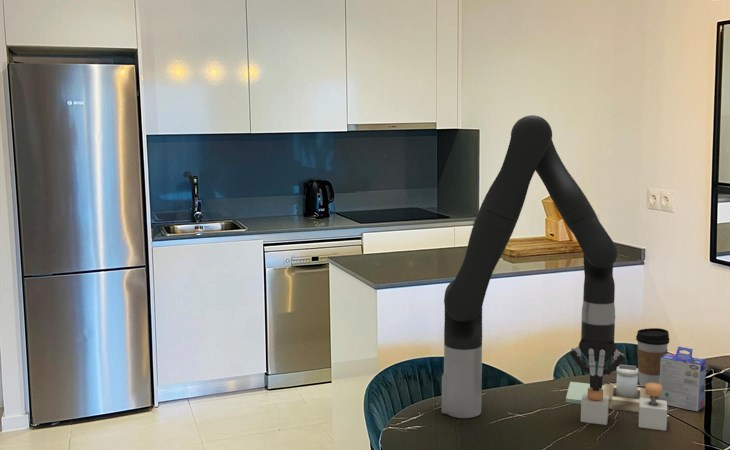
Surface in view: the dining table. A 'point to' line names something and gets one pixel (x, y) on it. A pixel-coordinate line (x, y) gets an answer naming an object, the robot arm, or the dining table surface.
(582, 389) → the mat
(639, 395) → the collar
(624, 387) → the canister
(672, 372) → the ink cartridge box
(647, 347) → the coffee cup
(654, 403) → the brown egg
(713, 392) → the dining table surface
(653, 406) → the plunger posts
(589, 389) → the plunger left
